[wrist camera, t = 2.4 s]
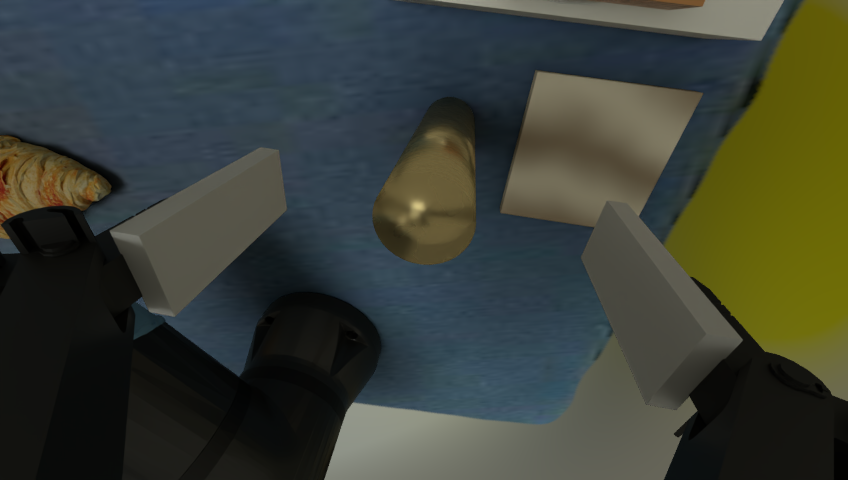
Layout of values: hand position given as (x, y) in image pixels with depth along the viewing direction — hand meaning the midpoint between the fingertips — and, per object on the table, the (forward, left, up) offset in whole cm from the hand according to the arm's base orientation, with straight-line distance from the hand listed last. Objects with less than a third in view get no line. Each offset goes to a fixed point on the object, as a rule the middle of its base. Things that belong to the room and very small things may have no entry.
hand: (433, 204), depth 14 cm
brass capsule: (0, 0, -15) cm, 15 cm away
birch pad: (-1, -11, -15) cm, 18 cm away
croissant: (-12, +42, -15) cm, 46 cm away
